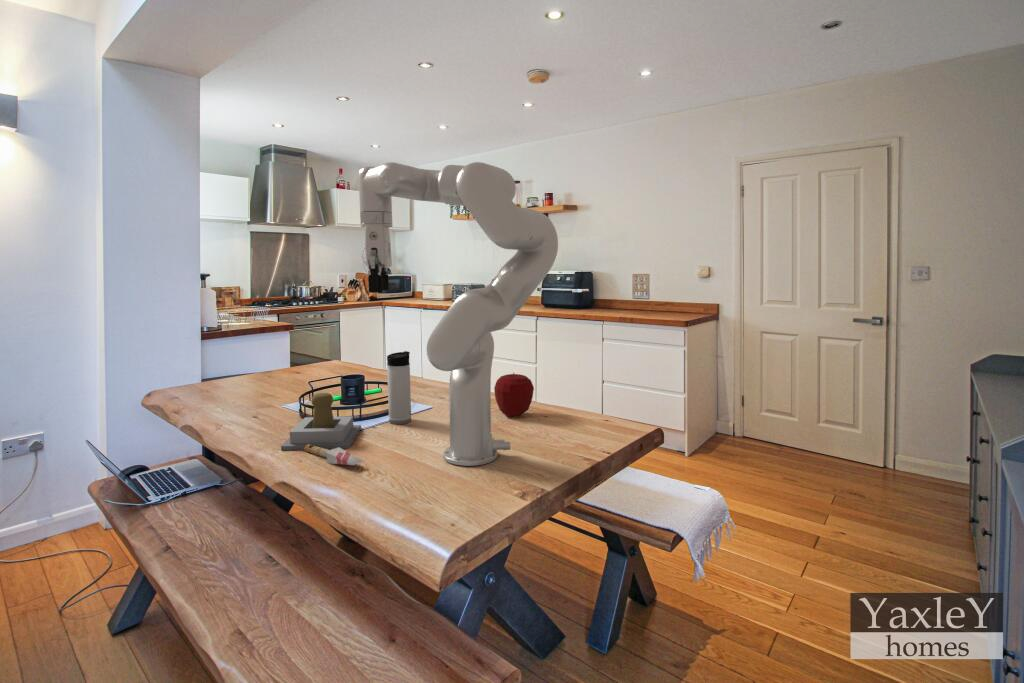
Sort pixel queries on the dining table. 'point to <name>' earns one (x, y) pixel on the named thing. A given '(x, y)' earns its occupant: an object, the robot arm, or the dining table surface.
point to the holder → (322, 434)
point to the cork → (322, 411)
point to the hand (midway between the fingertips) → (379, 291)
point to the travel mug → (399, 388)
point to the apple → (513, 394)
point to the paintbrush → (334, 455)
